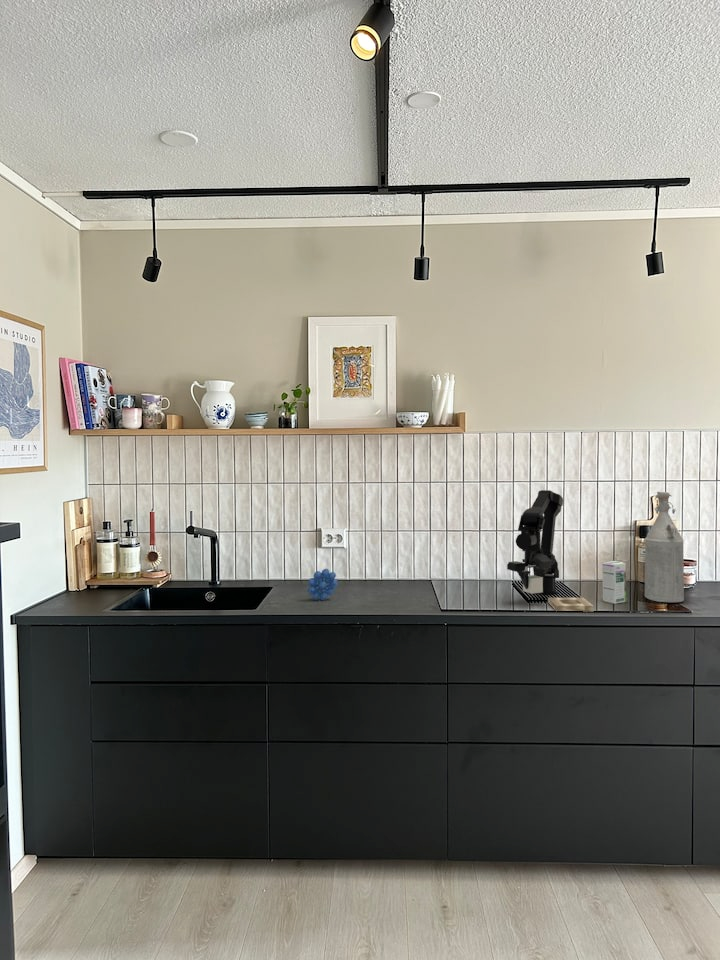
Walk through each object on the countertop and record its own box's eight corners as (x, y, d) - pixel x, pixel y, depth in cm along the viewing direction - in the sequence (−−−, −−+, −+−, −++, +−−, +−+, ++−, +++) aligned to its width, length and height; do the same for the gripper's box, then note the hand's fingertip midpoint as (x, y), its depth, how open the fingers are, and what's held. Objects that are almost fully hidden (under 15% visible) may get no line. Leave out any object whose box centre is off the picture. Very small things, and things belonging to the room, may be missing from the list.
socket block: (582, 603, 228) (582, 597, 228) (593, 611, 216) (593, 605, 216) (548, 603, 229) (547, 597, 229) (556, 611, 217) (556, 605, 217)
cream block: (534, 589, 235) (534, 574, 235) (542, 592, 231) (542, 576, 230) (523, 591, 233) (522, 575, 233) (531, 593, 229) (531, 577, 229)
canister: (654, 604, 224) (654, 493, 223) (638, 594, 242) (638, 490, 240) (692, 604, 223) (692, 492, 222) (673, 594, 240) (673, 490, 239)
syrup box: (615, 604, 226) (615, 563, 225) (602, 601, 231) (602, 561, 231) (626, 602, 229) (626, 562, 228) (613, 599, 234) (613, 560, 233)
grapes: (337, 597, 245) (336, 566, 245) (338, 601, 238) (338, 569, 238) (307, 598, 244) (306, 567, 243) (307, 602, 237) (307, 570, 237)
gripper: (524, 550, 221) (525, 595, 221) (567, 547, 227) (568, 590, 228) (506, 546, 231) (506, 589, 231) (547, 543, 238) (548, 584, 238)
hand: (532, 588), depth 232 cm, fingers closed on cream block, 5 cm apart
